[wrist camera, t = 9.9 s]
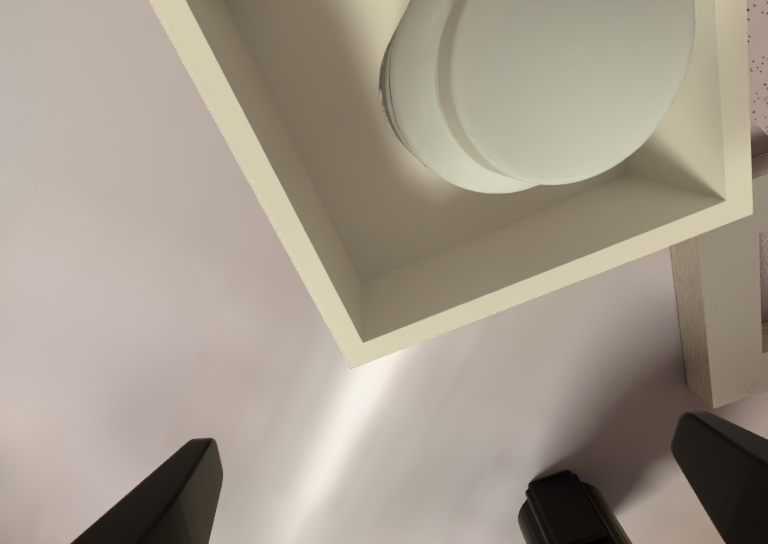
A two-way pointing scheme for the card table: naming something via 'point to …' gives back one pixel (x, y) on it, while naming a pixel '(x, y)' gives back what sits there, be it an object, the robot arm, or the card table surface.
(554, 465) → the card table surface
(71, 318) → the card table surface
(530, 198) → the bin
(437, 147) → the pill bottle
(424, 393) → the card table surface
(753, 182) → the socket block
